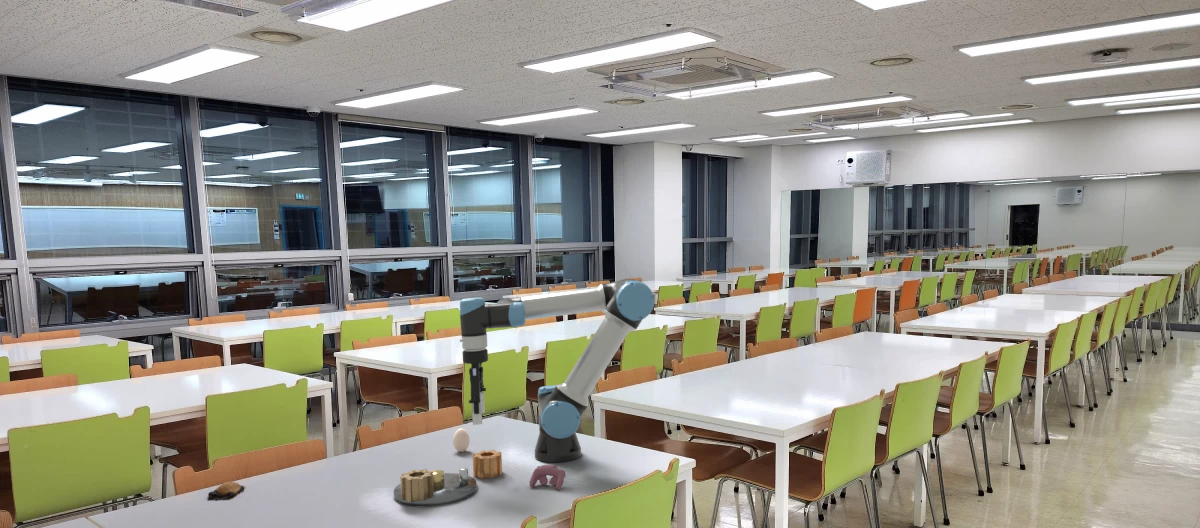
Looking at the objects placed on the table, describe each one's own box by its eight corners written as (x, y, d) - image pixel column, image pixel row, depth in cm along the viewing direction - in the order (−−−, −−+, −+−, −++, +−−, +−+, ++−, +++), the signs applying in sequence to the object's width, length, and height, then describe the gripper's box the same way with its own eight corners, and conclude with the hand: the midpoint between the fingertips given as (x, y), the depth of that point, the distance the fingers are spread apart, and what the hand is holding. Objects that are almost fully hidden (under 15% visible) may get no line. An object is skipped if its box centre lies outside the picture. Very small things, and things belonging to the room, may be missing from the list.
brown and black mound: (220, 490, 216) (219, 478, 216) (249, 488, 216) (248, 476, 216) (202, 503, 205) (201, 490, 205) (233, 501, 206) (232, 488, 205)
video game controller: (565, 492, 208) (568, 467, 211) (559, 489, 204) (562, 464, 207) (533, 489, 211) (537, 464, 214) (527, 487, 207) (531, 462, 210)
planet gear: (502, 468, 226) (501, 449, 226) (501, 477, 218) (500, 457, 217) (474, 470, 225) (474, 451, 225) (472, 479, 217) (471, 459, 217)
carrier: (479, 475, 220) (478, 451, 219) (473, 503, 197) (472, 476, 197) (401, 480, 217) (400, 455, 217) (386, 509, 195) (385, 481, 194)
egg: (462, 448, 249) (461, 425, 249) (473, 450, 246) (472, 427, 246) (450, 452, 245) (449, 429, 244) (461, 455, 242) (460, 431, 241)
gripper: (465, 343, 232) (469, 409, 233) (458, 356, 207) (462, 430, 208) (489, 342, 233) (493, 407, 233) (485, 354, 208) (489, 428, 209)
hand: (479, 418), depth 221 cm, fingers open, 13 cm apart
